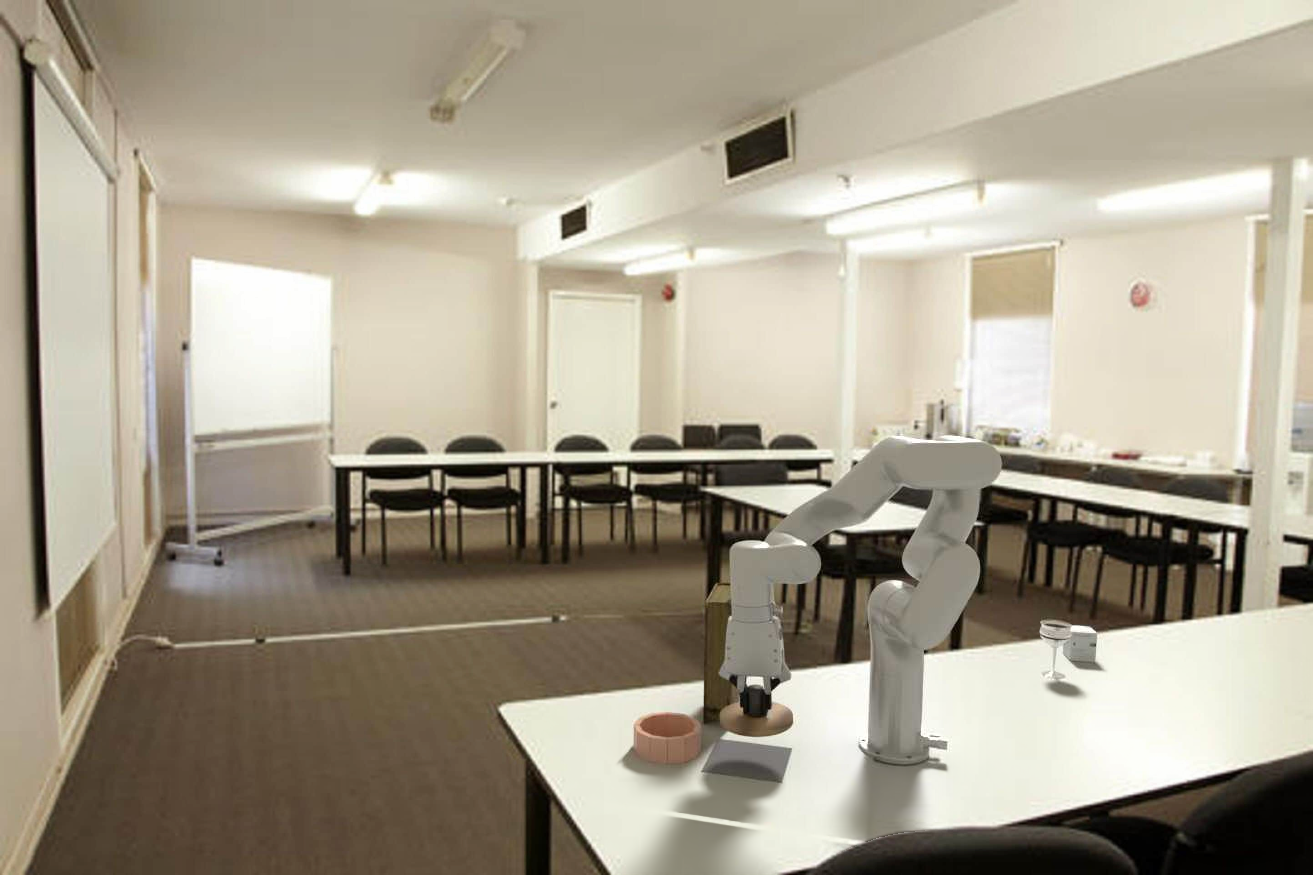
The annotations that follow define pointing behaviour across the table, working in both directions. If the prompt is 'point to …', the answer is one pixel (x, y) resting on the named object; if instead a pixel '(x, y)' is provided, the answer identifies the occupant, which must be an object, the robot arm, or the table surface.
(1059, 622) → the wineglass
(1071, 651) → the skincare box
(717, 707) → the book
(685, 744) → the bowl
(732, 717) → the lid
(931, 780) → the table surface
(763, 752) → the mat
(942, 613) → the robot arm
